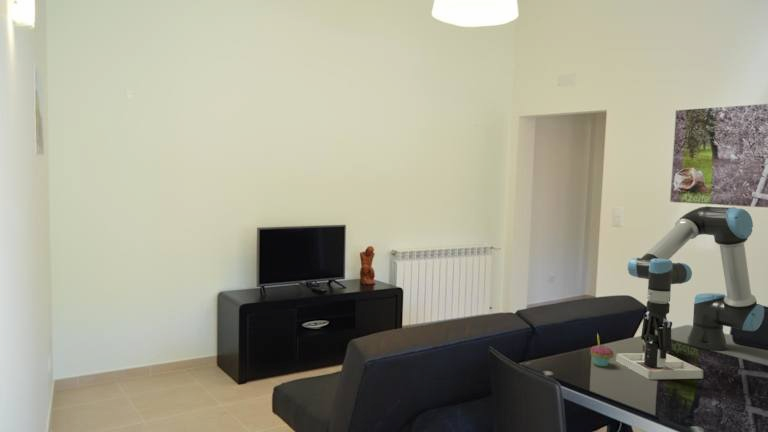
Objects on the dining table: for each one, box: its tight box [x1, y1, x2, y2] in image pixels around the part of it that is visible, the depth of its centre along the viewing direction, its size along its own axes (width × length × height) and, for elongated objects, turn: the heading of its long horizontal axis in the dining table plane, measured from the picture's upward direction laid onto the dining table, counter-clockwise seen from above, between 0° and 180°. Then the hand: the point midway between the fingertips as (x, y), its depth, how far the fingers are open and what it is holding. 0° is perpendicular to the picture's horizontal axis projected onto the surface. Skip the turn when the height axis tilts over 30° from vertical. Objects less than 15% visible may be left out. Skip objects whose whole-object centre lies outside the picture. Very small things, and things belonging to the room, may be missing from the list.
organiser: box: [615, 352, 705, 380], centre depth 221 cm, size 21×21×3 cm
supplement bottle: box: [644, 332, 664, 369], centre depth 215 cm, size 7×7×12 cm
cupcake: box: [589, 332, 615, 367], centre depth 225 cm, size 9×8×12 cm
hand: (654, 363), depth 215 cm, fingers closed on supplement bottle, 7 cm apart
